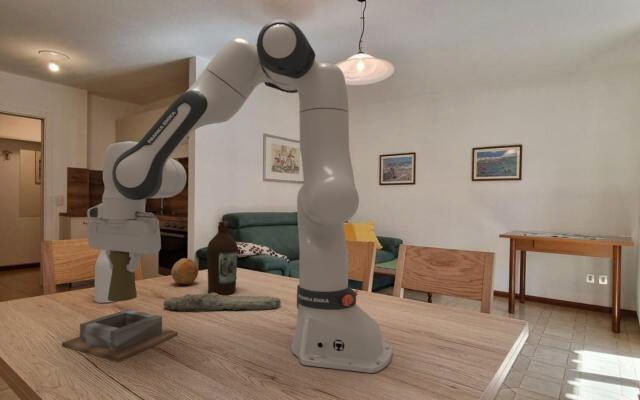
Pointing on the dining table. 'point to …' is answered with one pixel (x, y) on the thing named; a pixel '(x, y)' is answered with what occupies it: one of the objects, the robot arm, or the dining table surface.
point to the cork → (121, 278)
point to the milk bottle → (102, 278)
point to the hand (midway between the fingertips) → (123, 270)
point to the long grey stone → (220, 302)
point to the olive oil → (222, 262)
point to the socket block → (120, 335)
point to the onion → (184, 271)
